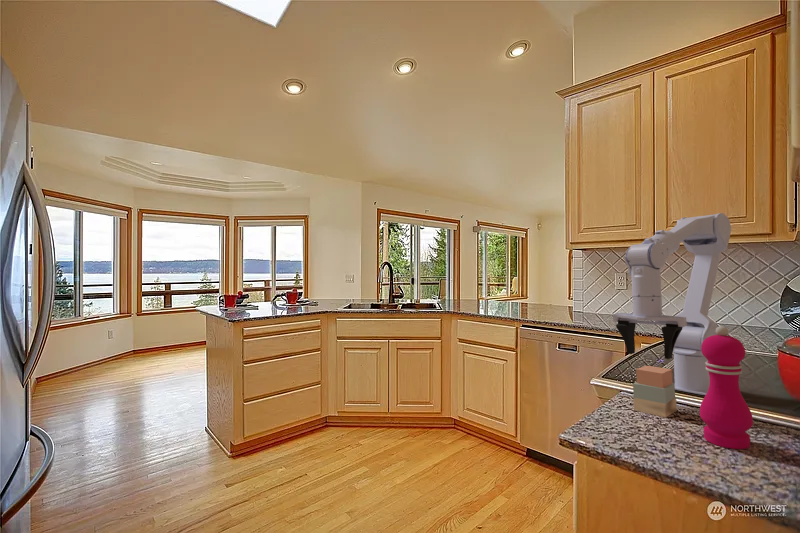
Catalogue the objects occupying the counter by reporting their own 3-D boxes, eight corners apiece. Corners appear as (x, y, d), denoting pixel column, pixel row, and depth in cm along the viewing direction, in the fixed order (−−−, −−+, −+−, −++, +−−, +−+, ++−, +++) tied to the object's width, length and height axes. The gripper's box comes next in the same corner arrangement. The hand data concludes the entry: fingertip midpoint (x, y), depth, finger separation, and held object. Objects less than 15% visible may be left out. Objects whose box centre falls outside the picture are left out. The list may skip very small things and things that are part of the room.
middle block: (644, 391, 90) (643, 378, 90) (675, 397, 86) (674, 383, 86) (633, 397, 86) (633, 383, 86) (665, 403, 82) (665, 389, 82)
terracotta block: (646, 379, 89) (646, 365, 90) (672, 383, 85) (671, 369, 86) (636, 383, 86) (636, 369, 87) (662, 388, 82) (662, 373, 83)
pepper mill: (699, 430, 75) (695, 322, 75) (751, 438, 71) (746, 324, 71) (701, 444, 69) (696, 327, 69) (757, 454, 65) (751, 330, 65)
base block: (645, 405, 90) (645, 391, 90) (676, 412, 85) (676, 397, 85) (634, 411, 86) (633, 397, 86) (665, 418, 82) (665, 404, 82)
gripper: (606, 296, 95) (608, 353, 95) (677, 298, 84) (679, 363, 84) (619, 294, 100) (621, 349, 99) (688, 296, 88) (691, 358, 88)
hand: (649, 355), depth 92 cm, fingers open, 7 cm apart
